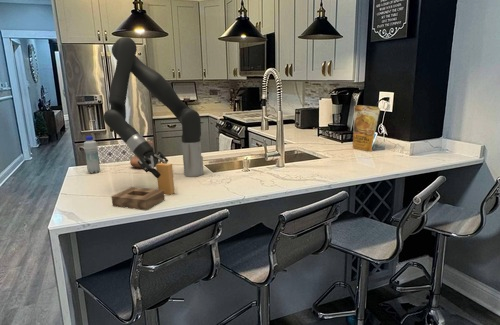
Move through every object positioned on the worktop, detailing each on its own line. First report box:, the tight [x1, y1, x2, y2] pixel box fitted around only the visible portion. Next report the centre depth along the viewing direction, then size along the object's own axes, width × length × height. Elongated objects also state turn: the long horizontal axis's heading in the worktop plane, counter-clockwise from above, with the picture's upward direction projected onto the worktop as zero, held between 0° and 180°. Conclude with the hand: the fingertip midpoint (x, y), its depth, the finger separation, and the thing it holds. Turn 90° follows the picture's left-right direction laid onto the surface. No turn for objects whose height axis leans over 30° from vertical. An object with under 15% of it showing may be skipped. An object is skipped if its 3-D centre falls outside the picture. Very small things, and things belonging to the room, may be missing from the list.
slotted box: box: [111, 186, 166, 211], centre depth 140 cm, size 16×12×4 cm
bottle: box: [83, 135, 101, 174], centre depth 186 cm, size 7×7×20 cm
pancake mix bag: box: [352, 104, 381, 152], centre depth 224 cm, size 7×19×28 cm, turn 30°
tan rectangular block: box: [155, 162, 175, 196], centre depth 149 cm, size 6×3×13 cm, turn 70°
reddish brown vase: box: [129, 140, 154, 169], centre depth 198 cm, size 18×14×14 cm
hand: (164, 174), depth 149 cm, fingers open, 8 cm apart
